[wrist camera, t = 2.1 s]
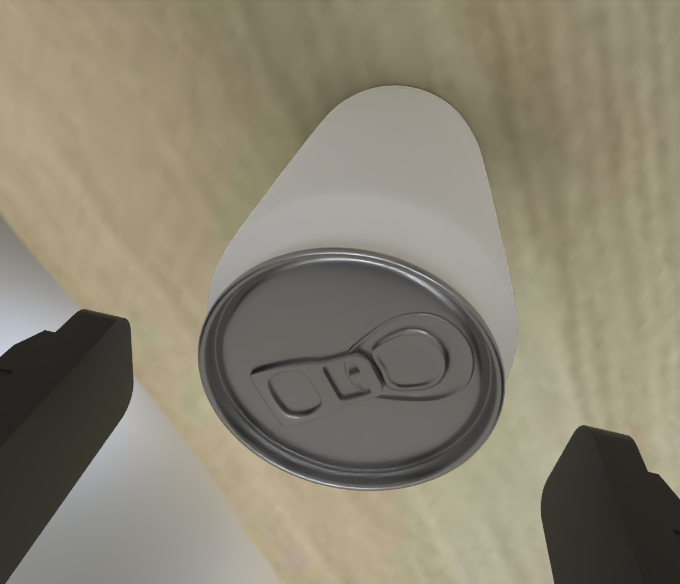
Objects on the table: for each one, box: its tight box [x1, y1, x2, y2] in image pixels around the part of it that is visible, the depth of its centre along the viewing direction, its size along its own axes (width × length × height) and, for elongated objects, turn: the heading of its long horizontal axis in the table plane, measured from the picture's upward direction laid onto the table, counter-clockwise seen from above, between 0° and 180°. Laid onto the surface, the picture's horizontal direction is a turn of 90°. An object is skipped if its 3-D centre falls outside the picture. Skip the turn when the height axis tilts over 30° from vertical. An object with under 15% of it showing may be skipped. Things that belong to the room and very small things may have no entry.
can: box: [198, 85, 517, 491], centre depth 15 cm, size 6×6×12 cm
